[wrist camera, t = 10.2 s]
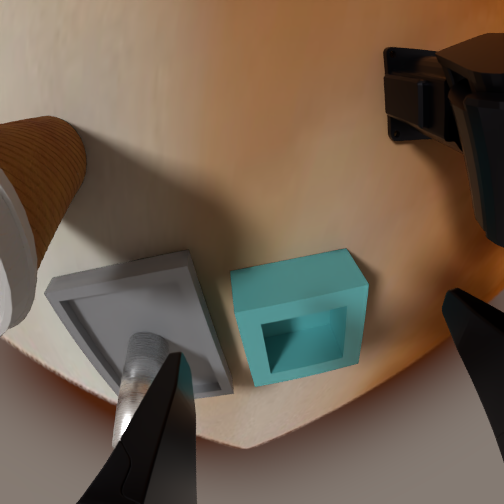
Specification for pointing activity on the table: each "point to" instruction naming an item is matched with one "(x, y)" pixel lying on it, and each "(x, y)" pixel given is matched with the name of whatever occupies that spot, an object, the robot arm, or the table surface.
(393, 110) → the robot arm
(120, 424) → the steel pin
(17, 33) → the table surface
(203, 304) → the charcoal tray
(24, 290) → the disposable coffee cup
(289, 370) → the teal square open box
